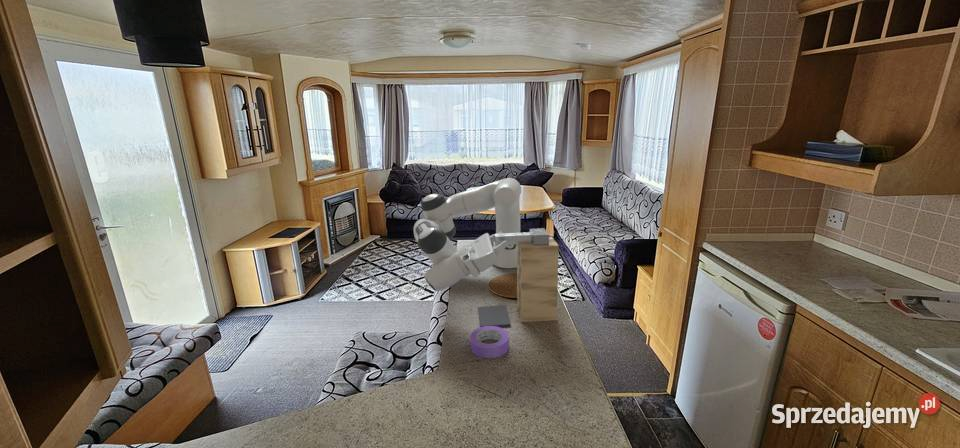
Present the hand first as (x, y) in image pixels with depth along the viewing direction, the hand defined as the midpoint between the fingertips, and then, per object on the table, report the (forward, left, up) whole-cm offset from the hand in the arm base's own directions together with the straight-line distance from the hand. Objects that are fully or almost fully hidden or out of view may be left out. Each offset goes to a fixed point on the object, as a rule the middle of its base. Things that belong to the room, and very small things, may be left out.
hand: (505, 237), depth 128 cm
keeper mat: (0, -4, -29) cm, 29 cm away
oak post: (0, +11, -29) cm, 31 cm away
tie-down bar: (0, +5, -2) cm, 6 cm away
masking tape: (+17, -7, -29) cm, 35 cm away
